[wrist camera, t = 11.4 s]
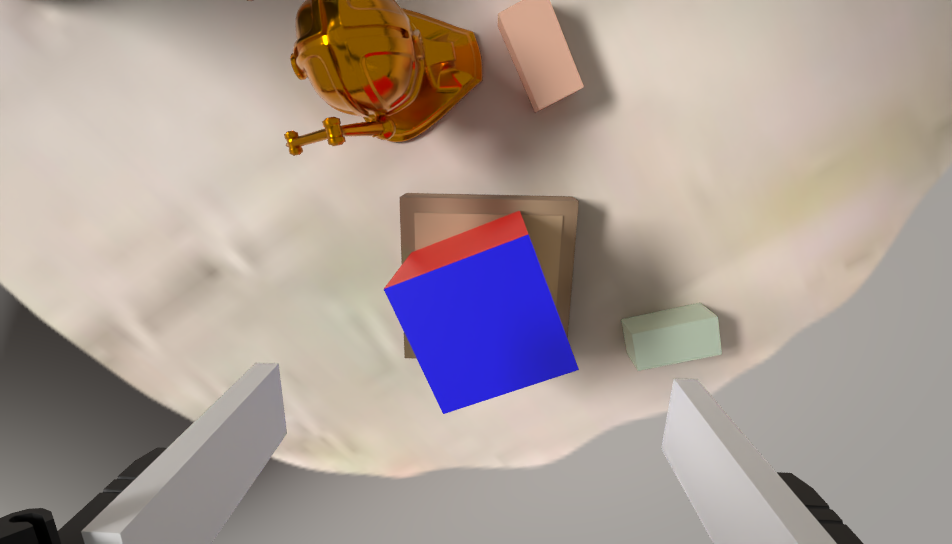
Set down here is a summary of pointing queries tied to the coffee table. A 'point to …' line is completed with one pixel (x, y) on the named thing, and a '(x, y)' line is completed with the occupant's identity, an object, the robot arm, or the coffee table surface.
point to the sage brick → (671, 336)
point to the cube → (480, 314)
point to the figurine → (381, 68)
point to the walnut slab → (458, 213)
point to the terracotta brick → (539, 52)
